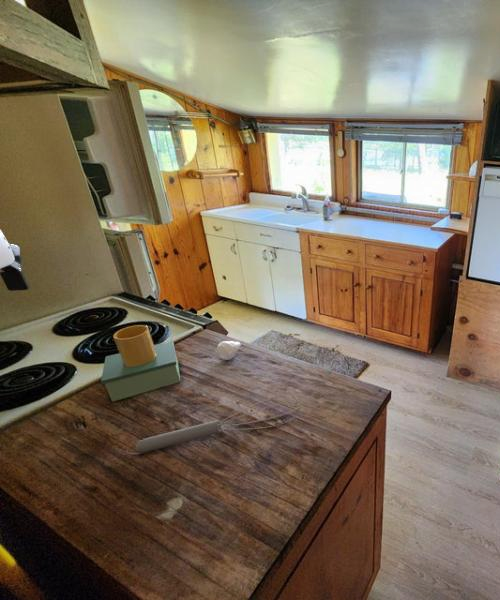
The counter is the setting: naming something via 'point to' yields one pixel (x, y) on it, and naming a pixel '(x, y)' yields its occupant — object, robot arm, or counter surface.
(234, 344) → the garlic bulb
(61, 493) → the counter surface
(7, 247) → the robot arm
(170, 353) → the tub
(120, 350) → the cup
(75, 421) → the counter surface
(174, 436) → the kitchen whisk
